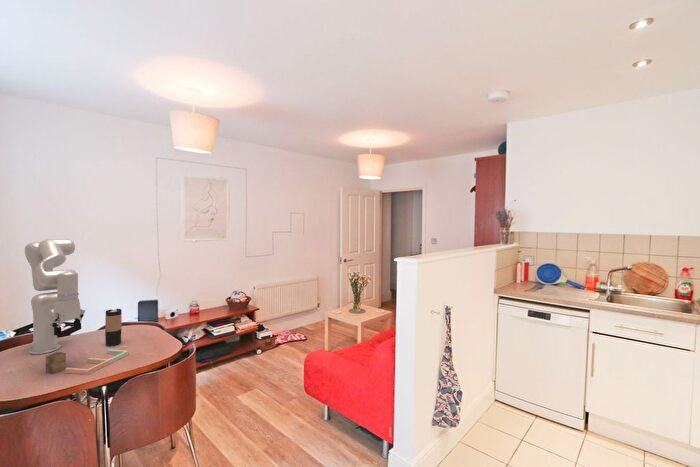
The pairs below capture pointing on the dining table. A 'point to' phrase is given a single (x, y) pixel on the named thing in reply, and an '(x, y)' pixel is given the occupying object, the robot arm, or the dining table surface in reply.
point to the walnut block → (55, 362)
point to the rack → (100, 362)
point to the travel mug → (113, 327)
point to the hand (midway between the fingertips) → (67, 331)
